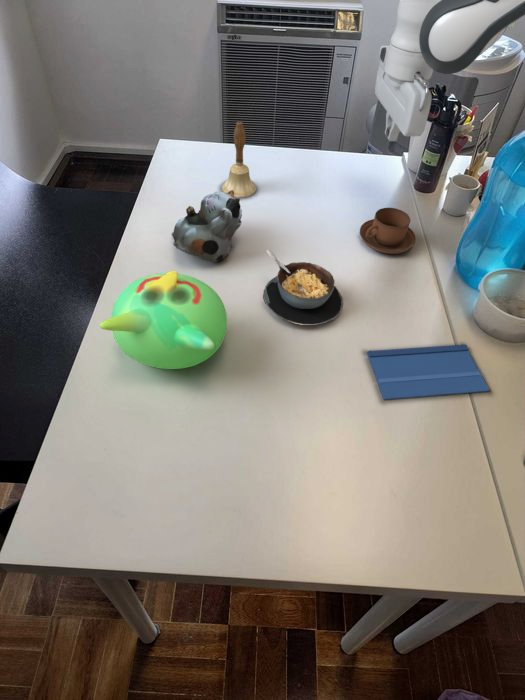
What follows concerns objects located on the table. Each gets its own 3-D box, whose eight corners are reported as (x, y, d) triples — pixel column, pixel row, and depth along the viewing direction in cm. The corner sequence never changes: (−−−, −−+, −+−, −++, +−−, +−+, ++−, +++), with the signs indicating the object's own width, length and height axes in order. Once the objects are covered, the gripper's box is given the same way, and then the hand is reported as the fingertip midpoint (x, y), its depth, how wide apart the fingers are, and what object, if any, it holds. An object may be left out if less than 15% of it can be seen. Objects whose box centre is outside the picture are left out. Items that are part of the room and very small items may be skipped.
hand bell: (258, 197, 112) (261, 130, 100) (223, 198, 111) (222, 130, 99) (253, 179, 117) (256, 113, 105) (220, 180, 116) (219, 113, 104)
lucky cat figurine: (171, 228, 102) (195, 166, 96) (222, 249, 106) (248, 191, 99) (167, 253, 89) (193, 184, 83) (225, 276, 93) (254, 211, 87)
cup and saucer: (393, 266, 97) (402, 241, 93) (347, 240, 102) (352, 216, 98) (423, 242, 103) (432, 218, 99) (378, 219, 108) (384, 195, 104)
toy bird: (231, 320, 85) (231, 255, 74) (220, 397, 74) (218, 333, 63) (132, 312, 85) (117, 246, 74) (106, 388, 74) (84, 322, 63)
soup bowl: (287, 340, 82) (291, 310, 77) (247, 285, 91) (248, 254, 86) (357, 315, 87) (366, 285, 82) (312, 265, 96) (317, 234, 91)
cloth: (464, 346, 83) (465, 343, 83) (488, 391, 77) (490, 389, 77) (366, 352, 81) (367, 350, 81) (383, 400, 75) (384, 397, 74)
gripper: (448, 85, 80) (422, 163, 90) (408, 44, 93) (390, 116, 103) (412, 85, 79) (391, 163, 89) (377, 44, 92) (362, 116, 103)
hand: (390, 138), depth 97 cm, fingers closed
